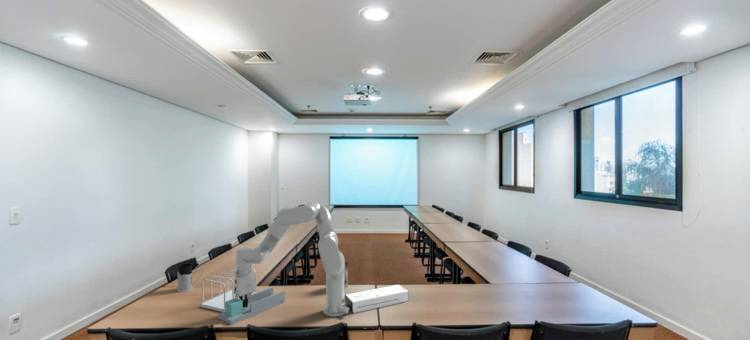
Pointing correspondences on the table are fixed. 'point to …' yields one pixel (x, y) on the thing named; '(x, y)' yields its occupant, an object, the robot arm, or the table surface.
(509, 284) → the table surface
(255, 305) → the sleeve
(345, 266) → the coffee box
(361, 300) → the laminator
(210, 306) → the file sorter
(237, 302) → the teal block
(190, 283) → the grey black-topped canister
